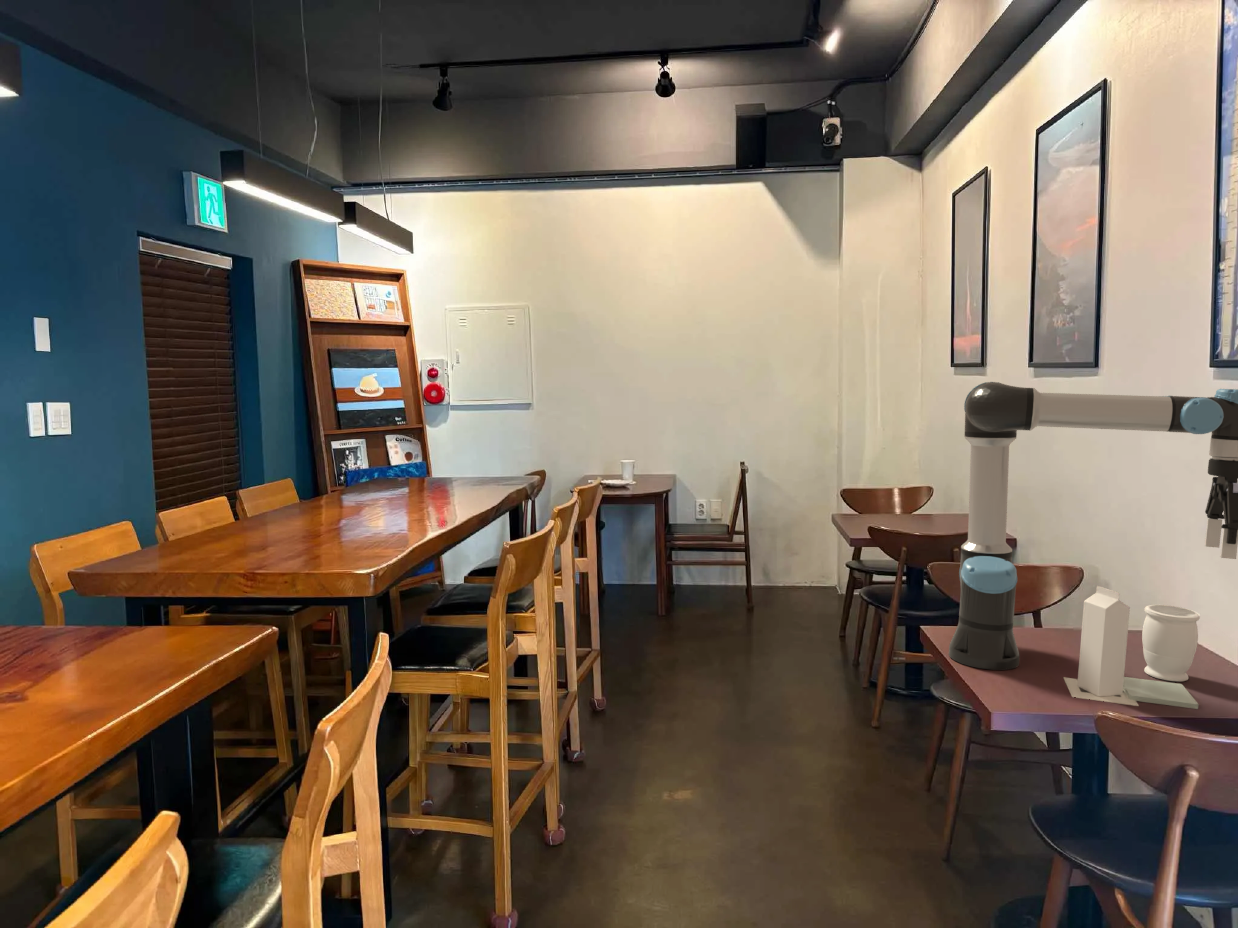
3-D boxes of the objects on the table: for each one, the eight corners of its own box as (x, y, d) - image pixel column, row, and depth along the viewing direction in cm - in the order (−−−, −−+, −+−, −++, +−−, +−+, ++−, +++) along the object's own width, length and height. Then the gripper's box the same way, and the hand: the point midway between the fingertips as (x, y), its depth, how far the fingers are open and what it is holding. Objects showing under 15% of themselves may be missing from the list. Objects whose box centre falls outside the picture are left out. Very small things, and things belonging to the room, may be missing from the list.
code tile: (1071, 701, 172) (1072, 696, 172) (1063, 681, 184) (1063, 676, 184) (1138, 710, 168) (1138, 705, 168) (1125, 689, 179) (1125, 684, 179)
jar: (1195, 687, 179) (1201, 620, 177) (1138, 677, 184) (1144, 612, 183) (1192, 673, 188) (1198, 608, 186) (1138, 664, 193) (1144, 601, 192)
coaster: (1129, 699, 171) (1130, 695, 171) (1117, 680, 183) (1117, 675, 182) (1198, 708, 167) (1198, 704, 167) (1181, 688, 178) (1181, 683, 178)
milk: (1100, 684, 179) (1109, 584, 177) (1123, 695, 174) (1132, 592, 171) (1076, 686, 178) (1084, 585, 176) (1098, 696, 172) (1107, 593, 170)
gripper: (1268, 464, 171) (1257, 565, 174) (1234, 455, 194) (1224, 544, 197) (1224, 462, 174) (1214, 561, 177) (1196, 453, 197) (1187, 540, 200)
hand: (1219, 552), depth 187 cm, fingers open, 13 cm apart
